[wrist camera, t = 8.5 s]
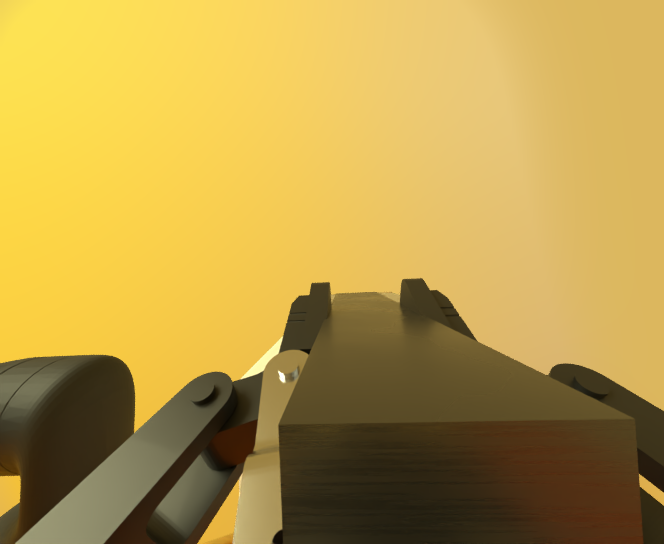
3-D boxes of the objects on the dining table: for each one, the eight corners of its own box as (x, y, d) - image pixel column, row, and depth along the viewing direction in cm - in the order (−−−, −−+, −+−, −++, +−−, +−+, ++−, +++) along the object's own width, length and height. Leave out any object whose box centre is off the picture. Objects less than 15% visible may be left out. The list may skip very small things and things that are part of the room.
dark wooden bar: (1073, 732, 2) (1045, 411, 2) (-31, 690, 2) (-34, 428, 2) (392, 306, 28) (390, 285, 28) (313, 309, 28) (312, 288, 28)
